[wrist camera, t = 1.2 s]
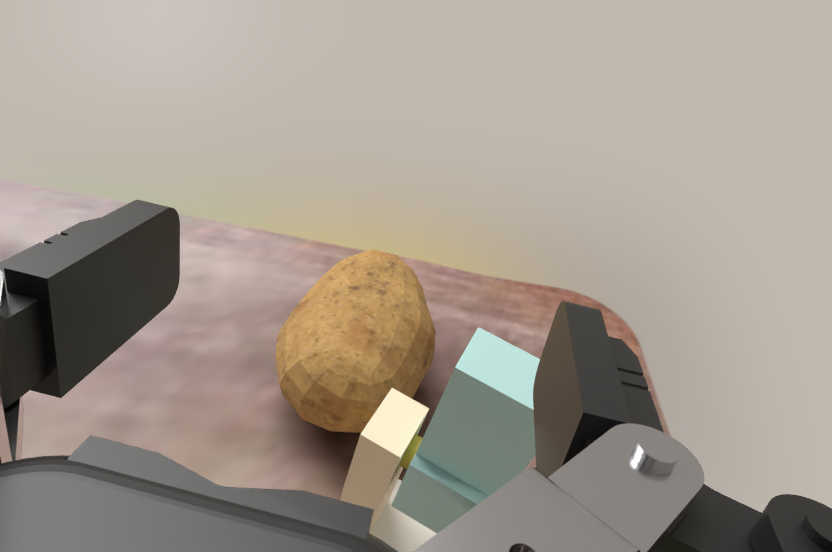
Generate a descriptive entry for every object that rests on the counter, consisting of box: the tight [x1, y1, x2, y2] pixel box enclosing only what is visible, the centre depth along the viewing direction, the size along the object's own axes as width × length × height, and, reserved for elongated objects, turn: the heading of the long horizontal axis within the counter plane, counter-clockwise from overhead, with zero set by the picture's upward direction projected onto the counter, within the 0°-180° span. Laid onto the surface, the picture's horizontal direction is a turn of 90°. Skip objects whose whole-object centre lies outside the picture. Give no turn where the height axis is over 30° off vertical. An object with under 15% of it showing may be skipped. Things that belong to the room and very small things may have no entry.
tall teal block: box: [391, 327, 540, 533], centre depth 24 cm, size 4×4×10 cm
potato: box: [276, 249, 436, 433], centre depth 38 cm, size 10×14×8 cm
